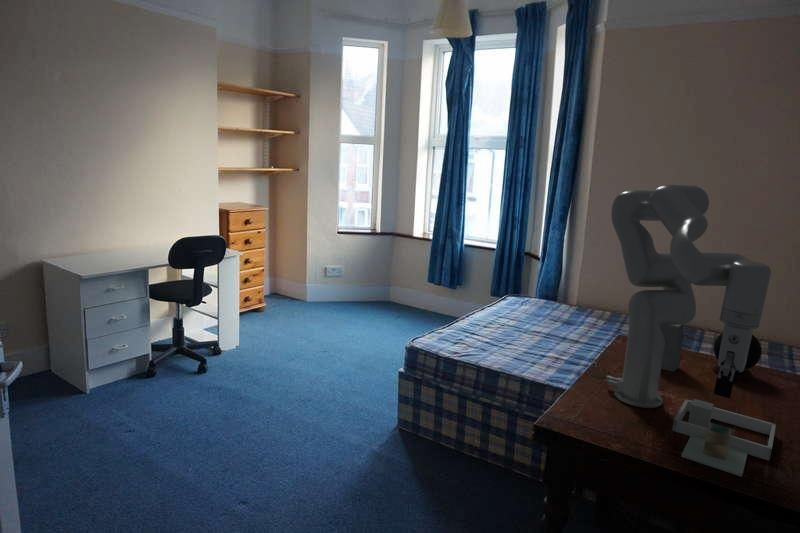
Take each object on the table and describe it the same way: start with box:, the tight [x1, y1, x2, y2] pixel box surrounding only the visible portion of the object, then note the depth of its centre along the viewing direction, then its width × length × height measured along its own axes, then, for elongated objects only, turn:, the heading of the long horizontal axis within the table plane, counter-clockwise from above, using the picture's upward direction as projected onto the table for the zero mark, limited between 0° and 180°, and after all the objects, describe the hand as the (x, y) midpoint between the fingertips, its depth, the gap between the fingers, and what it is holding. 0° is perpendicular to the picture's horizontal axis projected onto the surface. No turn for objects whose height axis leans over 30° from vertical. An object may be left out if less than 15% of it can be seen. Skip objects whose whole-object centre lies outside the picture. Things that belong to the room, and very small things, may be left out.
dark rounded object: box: [712, 332, 762, 382], centre depth 176 cm, size 13×13×15 cm
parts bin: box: [671, 398, 777, 462], centre depth 138 cm, size 21×16×3 cm
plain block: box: [687, 398, 714, 428], centre depth 141 cm, size 4×4×6 cm
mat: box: [680, 435, 749, 477], centre depth 127 cm, size 12×12×1 cm
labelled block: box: [703, 422, 733, 461], centre depth 126 cm, size 4×4×6 cm
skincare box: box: [660, 324, 685, 373], centre depth 179 cm, size 8×7×16 cm
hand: (724, 388), depth 124 cm, fingers open, 9 cm apart
